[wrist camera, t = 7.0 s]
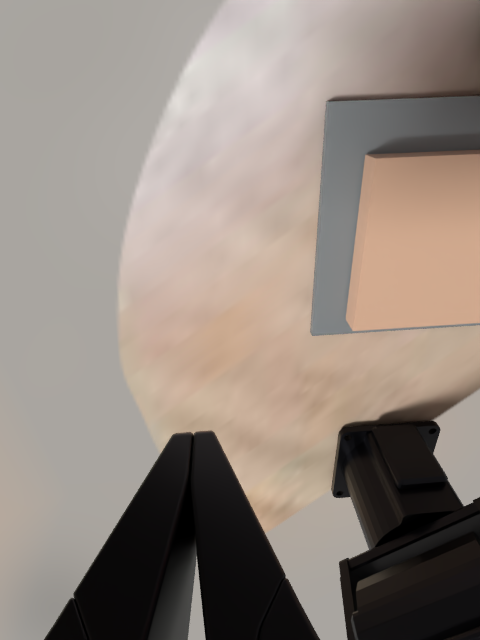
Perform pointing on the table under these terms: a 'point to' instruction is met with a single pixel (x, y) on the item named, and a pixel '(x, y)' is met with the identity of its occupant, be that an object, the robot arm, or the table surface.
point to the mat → (347, 172)
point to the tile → (417, 241)
